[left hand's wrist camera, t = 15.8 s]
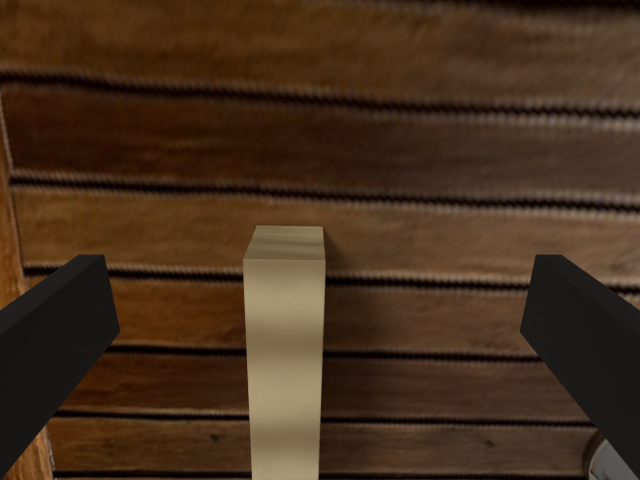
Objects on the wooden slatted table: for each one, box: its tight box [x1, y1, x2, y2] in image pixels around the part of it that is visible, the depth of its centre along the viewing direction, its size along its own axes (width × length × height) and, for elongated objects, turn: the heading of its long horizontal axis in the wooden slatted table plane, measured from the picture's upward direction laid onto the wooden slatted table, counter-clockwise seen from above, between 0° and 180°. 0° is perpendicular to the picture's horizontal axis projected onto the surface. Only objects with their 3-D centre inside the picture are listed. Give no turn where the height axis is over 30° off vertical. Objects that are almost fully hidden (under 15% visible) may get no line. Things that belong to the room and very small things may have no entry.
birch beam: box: [243, 225, 326, 480], centre depth 39 cm, size 34×6×8 cm, turn 179°
